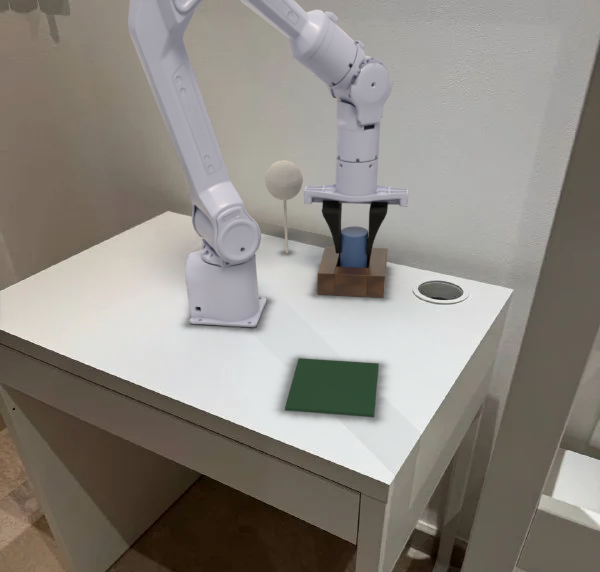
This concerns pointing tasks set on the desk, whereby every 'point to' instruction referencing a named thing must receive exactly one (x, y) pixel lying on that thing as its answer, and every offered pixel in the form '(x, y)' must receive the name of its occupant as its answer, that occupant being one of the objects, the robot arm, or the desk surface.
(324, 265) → the holder
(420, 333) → the desk surface
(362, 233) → the peg
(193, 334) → the desk surface
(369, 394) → the mat
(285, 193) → the lollipop
